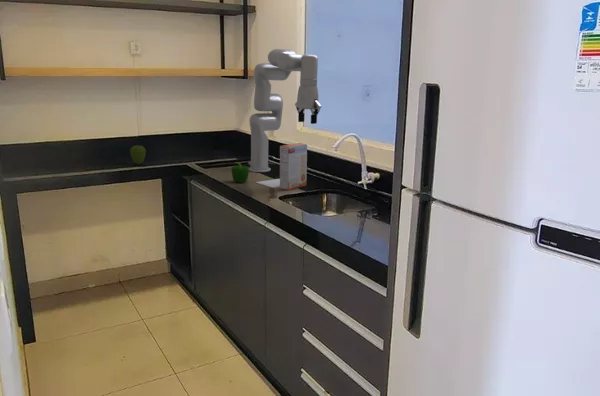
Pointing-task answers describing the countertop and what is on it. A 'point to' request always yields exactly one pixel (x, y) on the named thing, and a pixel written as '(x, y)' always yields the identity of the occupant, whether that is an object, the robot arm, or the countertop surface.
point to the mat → (270, 183)
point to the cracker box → (293, 166)
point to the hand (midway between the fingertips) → (307, 122)
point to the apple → (138, 154)
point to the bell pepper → (240, 173)
